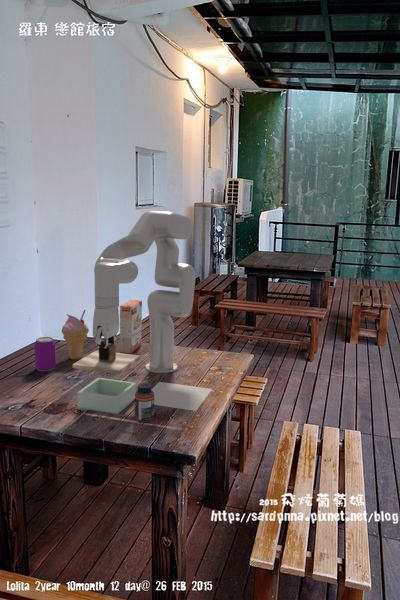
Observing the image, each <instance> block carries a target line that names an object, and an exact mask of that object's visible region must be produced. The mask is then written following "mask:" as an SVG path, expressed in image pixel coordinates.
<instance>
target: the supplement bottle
mask: <svg viewBox="0 0 400 600" xmlns="http://www.w3.org/2000/svg"><path fill="white" fill-rule="evenodd" d="M134 419H135V420H136V422H138V423H140V424H148V423H149V422H153V420H154V419H155V405H154V392H153V391H152V384H151V383H147V382H142V383H139V384H138V385H137V390H136V393H135V400H134Z"/></svg>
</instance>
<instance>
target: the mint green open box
mask: <svg viewBox="0 0 400 600" xmlns="http://www.w3.org/2000/svg"><path fill="white" fill-rule="evenodd" d="M136 391H137V382H133V381H125V380H117V379H112V378H111V379H110V378H103V377H97V378H96V379H94V380H93V381H91V382H90V383H88V384H87V385H86V386H85V387H83V388H82V389H80V390H79V391H77V410H78V411H83V412H84V411H85V412H86V410H88V411H93V412H98V413H99V412H101V413H107V414H111V415H112V414H113V415H119V414H120V413H121V412H123V411H124V410H125V409H126V408H127V407H128V406H129V405H130V404H132V403H133V402H135V393H136Z"/></svg>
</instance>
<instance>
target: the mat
mask: <svg viewBox="0 0 400 600" xmlns="http://www.w3.org/2000/svg"><path fill="white" fill-rule="evenodd" d="M151 390H152V391H153V392H154V406H161V407H167V408H173V409H180V410H185V411H194V412H197V410H198V409H199V408H200V406H201V405H202V403H203V402H204V401H205V400H206V398H207V397H208V396H209V394H210V393H211V392H212V391H213V388H208V387H200V386H192V385H186V384H179V383H171V382H166V381H165V382H164V381H163V382H162V381H159V382H157V384H156V385H154V386H153V388H151Z"/></svg>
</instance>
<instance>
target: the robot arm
mask: <svg viewBox="0 0 400 600" xmlns="http://www.w3.org/2000/svg"><path fill="white" fill-rule="evenodd" d="M193 229H194V226H193V222H192V220H191V218H189V216H186V215H183V214H179V213H176V212H172V211H155V210H150V211H145V212H144V213H143V214H142V215H141V216H140V217H139V218H138V220H137V221H136V223H135V225H134V226H133V227H132V229H131V230H130V232H129V233H128V234H127V235H126V236H123V237H122V238H120V239H118V240H116V241H115V242H113V243H110V244H109V245H108V246H107V247H105V249H103V251H102V252H101V254H99V256H98V258H97V260H96V262H95V264H94V267H93V272H94V312H93V319H92V338H93V339H95V340H94V341H95V342H94V343H96V344H97V348H98V350H99V359H101V360H109V348H107V347H108V343H112V344H117V339H116V338H117V335H118V333H120V310H119V308H120V287H119V286H120V285H121V284H130V283H133V282H135V280H136V279H137V278H138V275H139V269H138V265H137V264H136V263H135V262H134V261H132V260H128V258H133V257H137V256H140V255H144V254H145V253H147V252H148V251H149V250H150V248H151V247H152V245H153V243H155V246H156V259H155V267H154V268H155V269H154V282H155V284H156V285H158V286H159V287H160V286H161V287H164V288H174V289H179V291H173V290H165V289H156V290H153V291H151V292H150V293H149V294H148V296H147V300H146V301H147V309H148V316H149V363H146V364H145V370H147V372H151V373H155V374H169V373H172V372H173V373H174V372H176V371H177V370H178V365H177V364H176V363H175V362H174V361H175V352H174V351H175V350H174V349H175V323H174V321H173V318H172V317H176V318H187V317H188V316H190V315H191V313H192V310H193V304H194V295H195V286H196V271H195V268H194V267H193V266H192V265H191V264H188V263H181V262H179V256H180V249H179V246H178V244H177V243H176V241H175V240H187V239H189V238H190V236H191V235H192V234H193Z"/></svg>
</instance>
